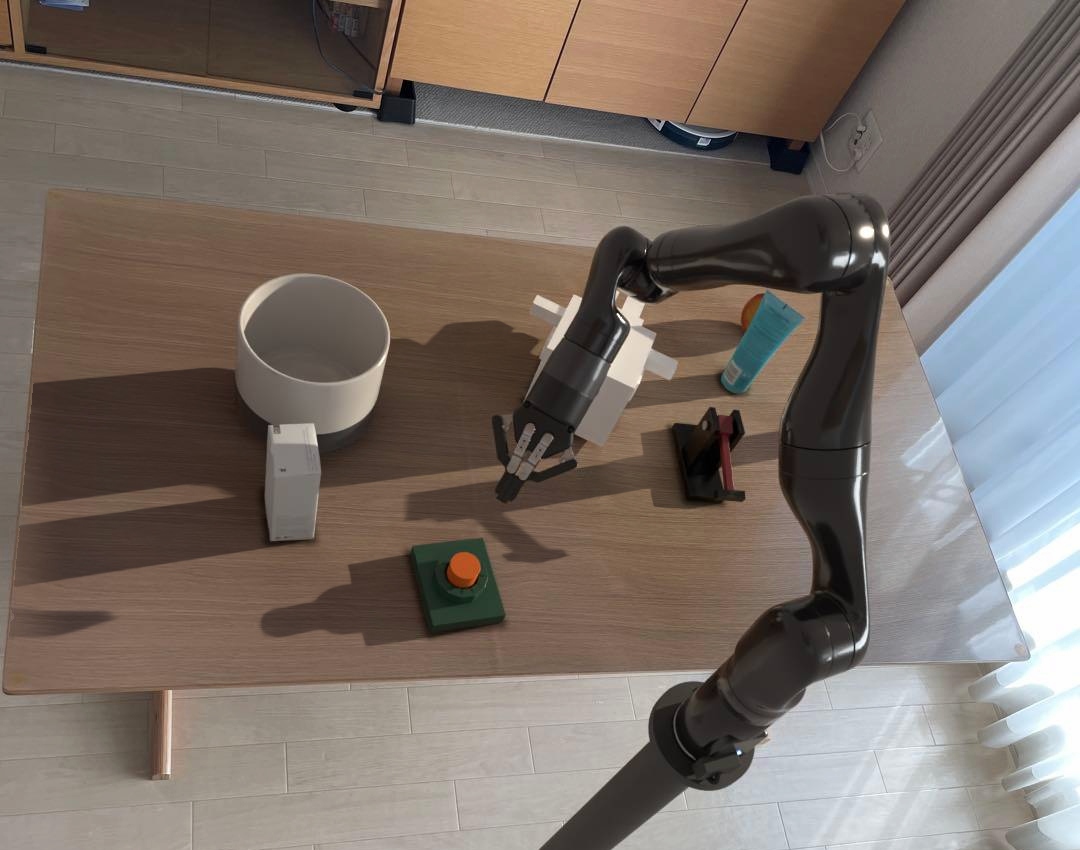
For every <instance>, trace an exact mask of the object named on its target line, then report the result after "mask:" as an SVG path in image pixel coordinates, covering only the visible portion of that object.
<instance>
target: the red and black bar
mask: <svg viewBox="0 0 1080 850" xmlns="http://www.w3.org/2000/svg"><path fill="white" fill-rule="evenodd" d="M717 416H718V421H719V425H720V429H721V431H720V433H719V434H718V436H717V437H716V438H718V439H719V445H720V454H721V464H722V466H721V473H722V484H723V489H716V490H715V491H714V500H722V501H723V502H734V503H735V502H736V503H737V502H738V503H742V502H745V500H746V499H747V497H746V491H745V490H738V489H735V486H734V485H735V484H734V477H733V468H732V458H731V457H732V456H731V453H730V448H729V439H728V437H729V436H731V435H732V434H733V424H732V416H730V415H725V414H717Z"/></svg>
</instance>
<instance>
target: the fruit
mask: <svg viewBox="0 0 1080 850" xmlns="http://www.w3.org/2000/svg"><path fill="white" fill-rule="evenodd" d="M764 294H765V292H764V293H763V292H761V293H756V294H755V295H754V296H753V297H751V298H750V299H749V300H748V301H747V302H746V303H745V304H744V306H743V309H742V310H741V314H740V324H741V325H740V326H741V328H742V329H741V330H742V331H743V333H744V334H745V332H746V330H747V329H748V327H749V325H750V323H751V321H752V319H753V317H754V315H755V313H756V311H757V309H758V307H759V305H760V303H761V301H762V299H763V296H764Z"/></svg>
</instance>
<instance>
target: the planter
mask: <svg viewBox="0 0 1080 850" xmlns="http://www.w3.org/2000/svg"><path fill="white" fill-rule="evenodd" d="M390 344H391V332H390V326H389V324H388V320H387V318H386V316H385V314H384V313H383V311H382V310H381V308H380V307H379V306H378V304H377V303H376V302H375V301H374V300H373V299H372V298H371V297H370V296H369V295H367V294H366V293H365V292H363V291H362V290H361V289H359V288H357V287H356V286H354V285H352V284H350V283H349V282H345V281H343V280H341V279H338V278H335V277H331V276H328V275H323V274H317V273H292V274H285V275H281V276H277V277H274V278H272V279H269V280H267V281H265V282H262V283H261V284H260V285H258V286H257V287H255V288H254V289H253V290H252V291H251V292H249V293H248V295H247V296H246V297H245V299H244V300H243V301H242V304H241V305H240V308H239V312H238V315H237V327H236V346H235V348H236V349H235V364H234V365H235V366H234V367H235V369H234V388H233V399H234V404H235V408H236V411H237V413H238V415H239V417H240V419H241V420H242V422H243V423H244V425H245V426H246V427H247V428H248V429H249V430H250V431H251V432H252V433H253V434H254V435H255V436H256V437H258V438H259V439H261V440H262V441H263V442H265V443H267V438H268V425H283V424H307V423H313V424H314V427H315V432H316V438H317V445H318V451H319V454H325V453H326V454H327V453H330V452H335V451H338V450H340V449H343V448H345V447H348V446H349V445H351V444H353V443H354V442H356V441H357V440H358V439H359V438H360V437H362V435H363V434H364V433H365V432H366V431H367V429H368V428H369V426H370V425H371V422H372V420H373V418H374V414H375V409H376V406H377V401H378V397H379V393H380V388H381V385H382V381H383V375H384V371H385V367H386V364H387V363H386V362H387V359H388V353H389V350H390ZM298 378H299V379H298ZM301 378H302V379H301ZM307 379H308V380H307ZM313 380H314V381H313Z"/></svg>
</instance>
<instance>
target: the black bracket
mask: <svg viewBox="0 0 1080 850" xmlns="http://www.w3.org/2000/svg"><path fill="white" fill-rule="evenodd" d="M729 416H732V424H733V434H732V435H731V436H729V437H728V439H729V448H730V454H731V453H732V452H733V451H734V449H735V448H736V447H737V446H738V445H739V443H740V441H741V440H742V439H743V437H744V436H745V435H746V431H745V427H744V423H743V418H742V415H741V411H740V409H733V410H732V411H731V412H730V414H729ZM670 428H671V433H672V438H673V442H674V448H675V452H676V457H677V463H678V468H679V472H680V476H681V481H682V486H683V491H684V495H685V500H686V501H687V502H700V503H711V504H723V502H724V501H722V500H714V491H715V490H716V489H724V484H723V480H722V476H721V473H720V469H721V468H722V464H721V454H720V445H719V439H718V438H716V437H717V436H718V434H719V433H720V431H721V429H720V425H719V421H718V412H717V408H716V407H715V406H709V407H708V408H707V410H706V411H705V413H704V415H703V416H702V417H701V419H700V420H699V422H698V424H691V423H683V422H682V423H681V422H674V423H673V425H672V426H671V427H670Z"/></svg>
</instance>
